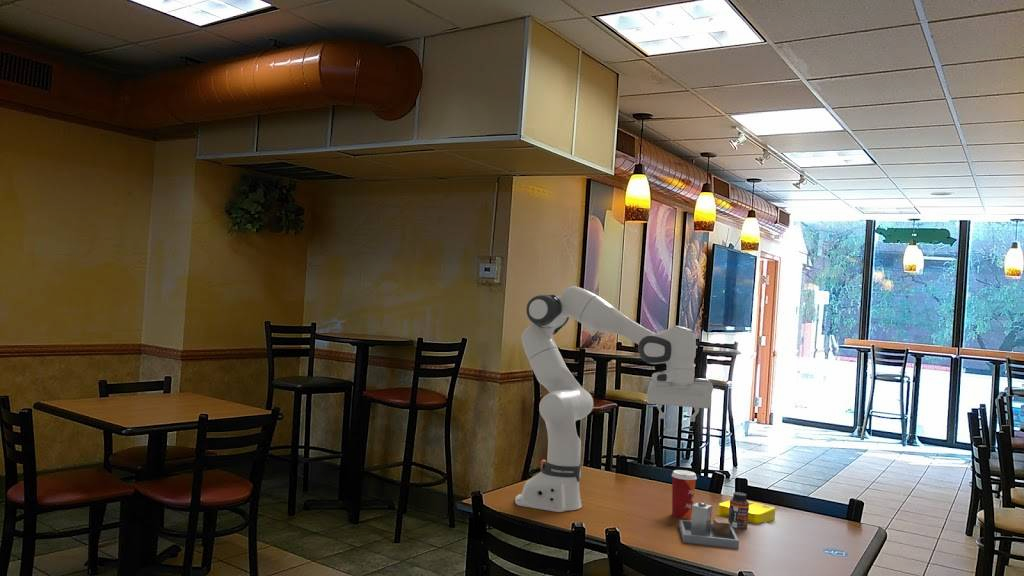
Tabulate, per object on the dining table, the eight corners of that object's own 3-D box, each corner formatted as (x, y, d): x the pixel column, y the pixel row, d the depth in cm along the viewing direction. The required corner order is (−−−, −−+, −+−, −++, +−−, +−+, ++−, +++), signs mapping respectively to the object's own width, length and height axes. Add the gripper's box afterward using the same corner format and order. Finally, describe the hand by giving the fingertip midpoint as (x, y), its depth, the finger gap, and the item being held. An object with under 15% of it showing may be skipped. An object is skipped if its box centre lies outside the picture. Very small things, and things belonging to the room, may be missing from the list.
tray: (683, 545, 216) (683, 534, 216) (679, 529, 231) (679, 519, 231) (738, 551, 214) (739, 540, 214) (730, 534, 229) (731, 525, 229)
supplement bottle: (737, 532, 232) (739, 496, 232) (723, 527, 237) (725, 491, 237) (751, 531, 234) (753, 495, 235) (737, 525, 240) (739, 490, 240)
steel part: (705, 538, 221) (707, 506, 221) (690, 535, 223) (692, 503, 223) (709, 535, 224) (711, 503, 225) (695, 531, 227) (697, 500, 227)
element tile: (715, 516, 250) (716, 502, 250) (735, 509, 261) (736, 495, 261) (757, 528, 240) (758, 513, 240) (776, 520, 251) (777, 506, 251)
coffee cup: (694, 523, 239) (697, 476, 239) (668, 519, 241) (671, 473, 241) (693, 516, 247) (696, 471, 248) (668, 513, 249) (671, 468, 249)
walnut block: (716, 535, 224) (717, 522, 224) (712, 531, 228) (713, 518, 228) (729, 536, 224) (730, 523, 224) (725, 532, 228) (726, 519, 228)
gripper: (712, 378, 239) (709, 421, 239) (647, 373, 242) (645, 415, 242) (714, 380, 233) (711, 424, 233) (648, 375, 236) (645, 418, 236)
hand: (677, 420), depth 237 cm, fingers open, 8 cm apart
